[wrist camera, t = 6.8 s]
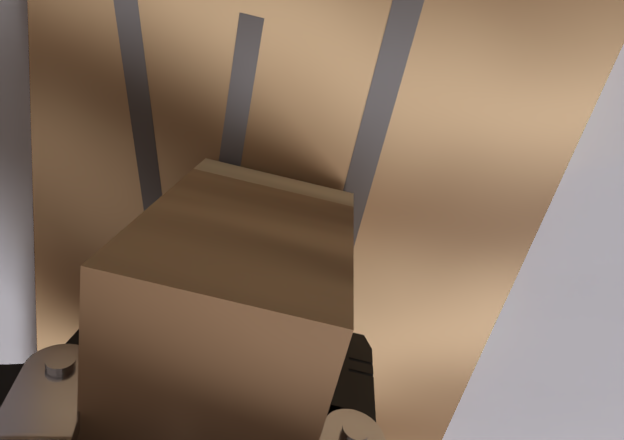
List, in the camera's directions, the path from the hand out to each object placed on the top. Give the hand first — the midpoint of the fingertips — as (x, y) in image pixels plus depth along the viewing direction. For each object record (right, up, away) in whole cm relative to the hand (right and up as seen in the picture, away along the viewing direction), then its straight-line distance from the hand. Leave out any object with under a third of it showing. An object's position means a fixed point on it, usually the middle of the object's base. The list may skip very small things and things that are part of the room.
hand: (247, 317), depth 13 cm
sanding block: (0, 0, +1) cm, 1 cm away
